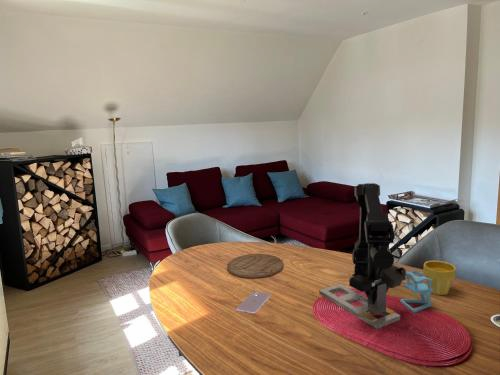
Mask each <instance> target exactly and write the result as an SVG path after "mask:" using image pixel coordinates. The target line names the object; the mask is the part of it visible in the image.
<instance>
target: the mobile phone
mask: <svg viewBox="0 0 500 375" xmlns="http://www.w3.org/2000/svg"><path fill="white" fill-rule="evenodd" d="M270 297H271V293H268V292H262V291H258V290H257V291H255V290H254V291H252V292H251V293H250V294H249V295H248V296H247V297H246V298H245V299H244V300H242V302H241V303H240V304H239V305H238V306H237V307H236V311H237V312H242V313H248V314H251V315H252V314H256V313H257V312H258V311H259V310H260V309H261V308H262V307H263V305H265V303H266V302H267V301H268V300H269V299H270Z"/></svg>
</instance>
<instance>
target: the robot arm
mask: <svg viewBox="0 0 500 375" xmlns="http://www.w3.org/2000/svg"><path fill="white" fill-rule="evenodd" d="M380 196H381V185H379V184H378V183H375V182H374V183H373V182H372V183H369V182H368V183H365V182H364V183H358V184H357V185H355V186H354V197H355V198H356V202H357V203H358V204H357V205H358V206H359V228H358V230H359V232H358V233H359V234H358V235H359V236H358V239H357V240H356V241H355V243H354V248H353V249H352V254H351V255H352V256H351V259H352V263H353V265H354V271H353V272H354V273H353V274H351V277H350V278H349V280H348V286H349V287H351V288H353V289H355V290H357V291H359V292H361V293H364V294H365V295H366V296H365V297H366V298H368V300H369V302H370V304H372V305H373V304H374V297H375V290H377V289H378V288H377V287H375V282H376V281H379V280H381V281H383V282H384V283H385V284H386V285H387V288H386V294H387V293H388V290H390V289H395V288H396V287H400V286H401V285H402V283H403V282H404V281H405V280H406V281H407V278H406V273H407V272H406V268H404V267H403V266H401V267H399V266H396V265H394V263H395V257H394V255H393V253H392V252H391V249H390V247H389V244H394V241H395V238H396V235H395V229H394V224H393V223H392V221H391V220H390V219H389V218H390V217H389V215H388V214H387V213H386V212H385V211H383V209H382V205H381V200H380ZM389 288H390V289H389Z"/></svg>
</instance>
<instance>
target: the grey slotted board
mask: <svg viewBox="0 0 500 375" xmlns="http://www.w3.org/2000/svg"><path fill="white" fill-rule="evenodd" d="M338 292H340V293H343V294H342V295H340V296H338V295H335V293H338ZM318 293H319V295H320V296H322V297H323V298H325V299H327V300H328V299H329V300H328V301H330V302H331V303H333V302H334V303H333V304H335V305H336V306H338V305H339V306H338V307H340V306H341V307H340V308H342V309H343V308H344V309H343V310H345V311H347V312H348V313H350V314H352V315H353V316H355V317H356V316H357V318H358V319H360V320H362V321H363V322H365V323H367V324H368V325H370V326H371V327H373V328H375V329H376V330H378V329H382V328H383V327H386V326H389V325H390V324H393V323H396V322H398V321H400V320H401V314H398V313H396V312H395V310H393V309H390V308H388V306H386V312H385V313H382V314H381V315H382V316H383V317H380V318H377V317H376V316H373V315H372V314H373V313H372V312H370V311H368V298H367V296H364V295H363V294H361V293H359V292H357V291H355V290H353V289H352V288H350V287H347V286H346V285H344V284H341V283H338V284H334V285H332V286H328V287H326V288H321V289H319V292H318ZM344 293H345V294H344ZM356 300H357V301H356ZM353 302H359V303H360V304H362V303H363V304H362V305H359V306H355V305H353V304H351V303H353ZM364 304H365V305H364ZM370 313H371V314H370ZM388 324H389V325H388Z"/></svg>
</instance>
